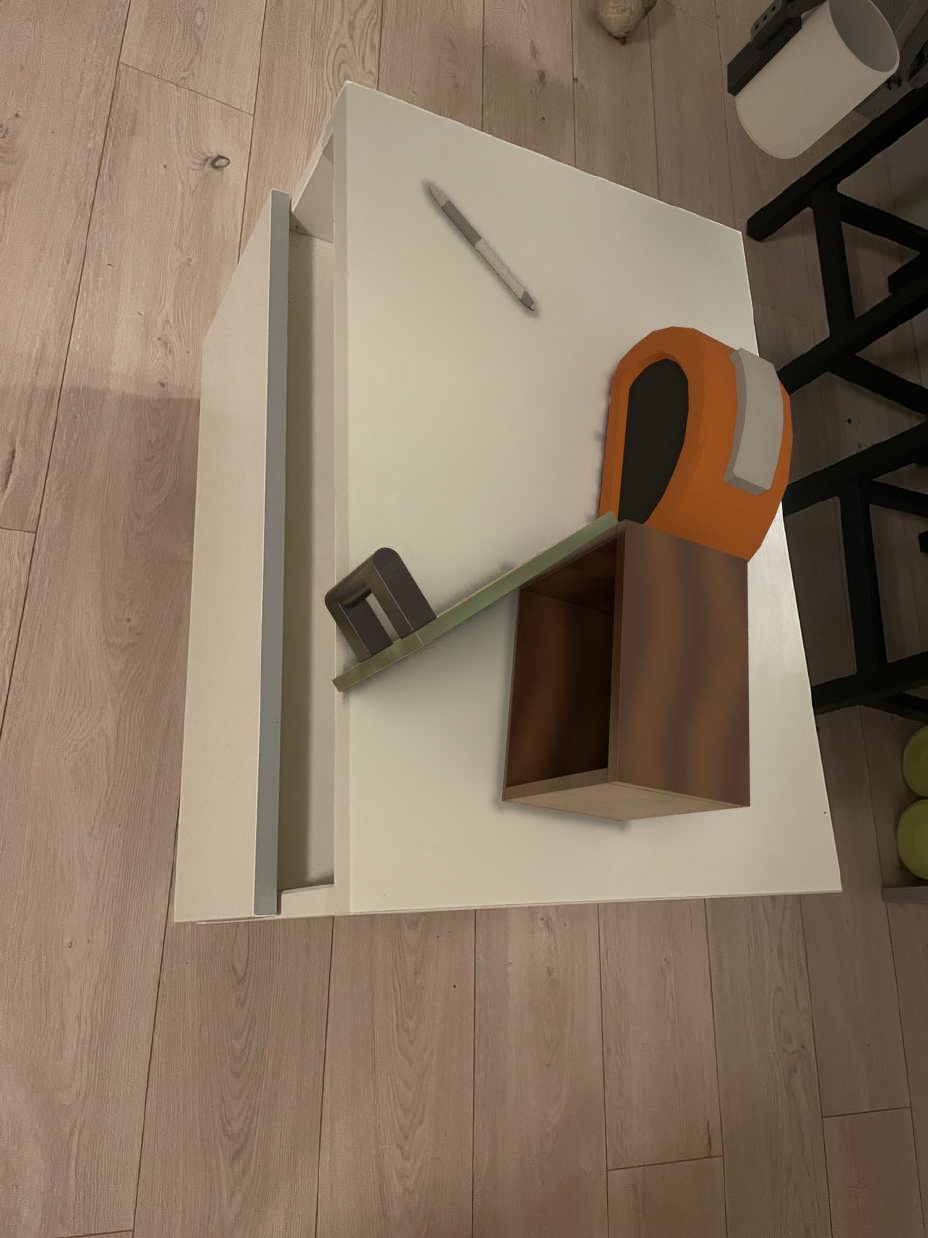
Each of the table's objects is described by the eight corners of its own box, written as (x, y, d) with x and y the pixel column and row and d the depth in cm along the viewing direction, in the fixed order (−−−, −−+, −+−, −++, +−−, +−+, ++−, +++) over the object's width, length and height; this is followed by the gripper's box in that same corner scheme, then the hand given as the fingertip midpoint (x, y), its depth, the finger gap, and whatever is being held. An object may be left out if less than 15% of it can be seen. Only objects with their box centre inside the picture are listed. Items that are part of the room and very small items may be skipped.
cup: (731, 133, 69) (826, 39, 61) (734, 37, 72) (825, -63, 65) (801, 178, 72) (901, 93, 64) (801, 84, 75) (896, -7, 68)
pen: (526, 316, 84) (534, 308, 83) (422, 194, 82) (429, 184, 81) (532, 311, 85) (540, 303, 83) (429, 190, 82) (436, 179, 81)
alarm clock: (603, 365, 87) (728, 261, 73) (678, 400, 90) (811, 308, 76) (580, 593, 79) (715, 527, 65) (663, 623, 82) (809, 566, 68)
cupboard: (497, 801, 70) (616, 781, 57) (514, 581, 76) (626, 518, 63) (616, 821, 75) (750, 807, 62) (623, 612, 80) (747, 559, 68)
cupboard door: (289, 615, 66) (364, 550, 53) (469, 515, 75) (570, 440, 63) (336, 693, 66) (423, 646, 54) (511, 584, 76) (619, 522, 63)
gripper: (962, -257, 47) (666, 80, 66) (1182, -48, 55) (863, 196, 75) (949, -346, 49) (668, 4, 69) (1162, -133, 58) (858, 125, 77)
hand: (770, 104), depth 72 cm, fingers closed on cup, 7 cm apart
